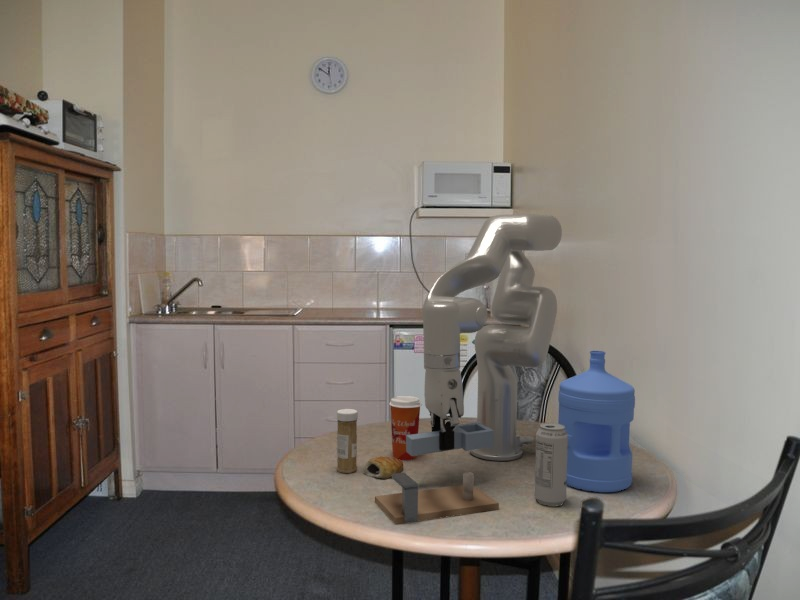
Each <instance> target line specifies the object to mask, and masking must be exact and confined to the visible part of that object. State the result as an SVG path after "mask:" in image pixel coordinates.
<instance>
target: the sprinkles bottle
mask: <svg viewBox="0 0 800 600" xmlns="http://www.w3.org/2000/svg"><path fill="white" fill-rule="evenodd" d="M358 416H359V415H358V410H356V409H352V408H343V409H339V410H337V412H336V421H337V433H336V436H337V437H336V439H337V441H336V457H337V463H336V465H337V466H336V471H337V472H339V473H343V474H351V473H354V472H356V471H357V470H358V466H357V455H358V451H357V449H358V448H357V446H358V445H357V444H358V442H357V441H358V440H357V439H358V438H357V437H358V434H357V431H358V429H357V423H358V422H357V421H358Z"/></svg>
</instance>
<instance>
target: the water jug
mask: <svg viewBox="0 0 800 600" xmlns="http://www.w3.org/2000/svg"><path fill="white" fill-rule="evenodd" d="M589 353H590V358H589V368H588V369H587V371H584V372H582V373H578V374H576V375H574V376H572V377H569V378H566V379H564V380H562V381H561V382H560V383H559V390H558V420H557V421H558V422H557V424H561V425H563V426H565V431H566V433H567V435H568V451H567V482H566V486H569V487H571V488H573V487H574V489H577V490H580V489H582V491H585V490H587V491H586V492H591V491H594V492H593V493H615V492H621V490H622V491H624V489H625V490H626V489H628V488H629V487H630V486H631V485H632V483H633V472H632V471H633V470H632V468H633V452H632V450H631V447H630V432H631V431H630V430H631V429H630V427H631V425H630V424H631V422H633V421H634V416H635V414H634V413H635V407H636V396H635V387H633V385H632V384H629V383H628V382H626V381H624V380H622V379H620V378H618V377H617V376H615V375H613V374H611V373H609V372H607V370H606V369H605V365H606V359H605V356H606V351H603V350H590V351H589Z"/></svg>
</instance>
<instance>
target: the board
mask: <svg viewBox="0 0 800 600" xmlns="http://www.w3.org/2000/svg"><path fill="white" fill-rule="evenodd" d="M474 479H475V477H474V473H473V472H470V471H469V472H467V471H466V472H463V473H462V484H460V485H459V484H458V485H453V486H444V487H436V488H429V489H422V490H421V489H419V490H418V521H417V522H420V521H427V520H426V519H429V520H434V518H436V519H441V518H440V517H442V518H447V517H446V516H449V517H454V516H453V515H456V516H461V515H460V514H463V515H467V514H468V513H469V514H476V513H482V511H483V512H487V511H488V512H489V511H496V510H500V502H499V501H497V500H496V499H494V498H493V497H491V496H489V495H488V494H487V493H485V492H484V491H483V490H481V489H479V488H478V487H476V486H475V485H474V481H475V480H474ZM374 503H375V505H376V506H377V507H378V508H379V509H380V510H381V511H382V512H383V513H384V514H385V515H386V516H387V517H388V518H389V519H390V520H391V522H392V523H394V524H395V525H400V524H406V523H405V516H404V515H403V514H402V492H398V493H397V492H396V493H389V494H383V495H374ZM475 512H476V513H475Z"/></svg>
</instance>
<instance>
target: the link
mask: <svg viewBox="0 0 800 600" xmlns="http://www.w3.org/2000/svg"><path fill="white" fill-rule="evenodd" d="M440 431H441V430H440ZM440 431H433V432H432V431H427V432H421V433H419V432H418V434H412V435H406V452H407V453H409V454H410V455H411V456H416V457H417V456H422V455H428V454H435V453H441V452H442V453H443V451H441V450H440V449H439V432H440ZM488 447H494V446H493V430H492V429H490V428H488V427H486V426H485V425H483V424H481V423H479V422H477V421H476V422H468V423H463V424H458V425H456V426H455V431H454V449H451V450H450V451H454V450H459V449H461V450H463V451H465V452H467V451H469V452H470V450H475V449H481V448H488ZM446 451H447V452H448V451H449V450H445V451H444V452H446Z"/></svg>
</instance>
